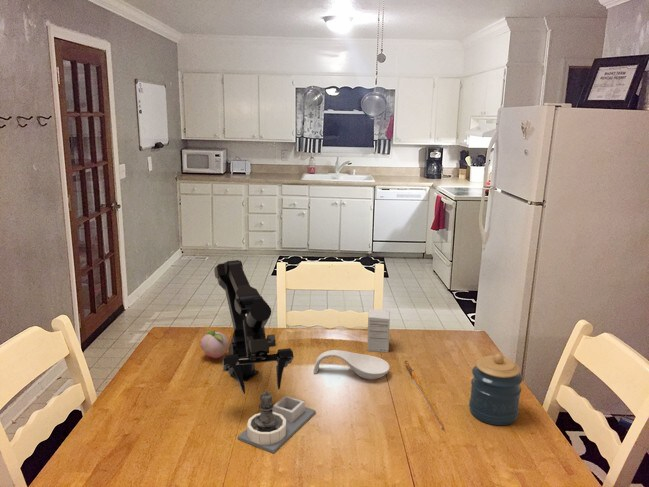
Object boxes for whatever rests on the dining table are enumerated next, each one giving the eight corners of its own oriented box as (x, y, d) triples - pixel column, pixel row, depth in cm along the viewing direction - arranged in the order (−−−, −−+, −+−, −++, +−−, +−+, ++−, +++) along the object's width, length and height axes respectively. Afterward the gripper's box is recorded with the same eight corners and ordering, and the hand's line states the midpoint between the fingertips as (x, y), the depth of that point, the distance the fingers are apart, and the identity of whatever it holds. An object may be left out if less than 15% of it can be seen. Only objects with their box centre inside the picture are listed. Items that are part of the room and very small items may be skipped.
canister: (517, 405, 149) (524, 347, 144) (518, 430, 137) (525, 369, 132) (470, 396, 153) (475, 340, 148) (466, 421, 141) (472, 361, 136)
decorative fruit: (235, 356, 175) (234, 329, 173) (217, 366, 169) (216, 337, 166) (214, 349, 180) (213, 322, 178) (196, 359, 174) (195, 331, 171)
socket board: (282, 401, 149) (282, 389, 148) (315, 413, 144) (315, 400, 143) (237, 439, 132) (237, 425, 131) (273, 453, 127) (273, 439, 126)
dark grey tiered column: (279, 438, 131) (278, 395, 128) (255, 440, 131) (254, 397, 128) (277, 424, 137) (277, 383, 134) (255, 426, 136) (253, 384, 133)
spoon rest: (388, 367, 170) (389, 346, 168) (389, 385, 159) (390, 364, 157) (316, 363, 172) (316, 343, 170) (311, 381, 161) (311, 360, 159)
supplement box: (367, 341, 188) (369, 308, 184) (388, 343, 187) (390, 310, 183) (366, 351, 180) (367, 316, 177) (388, 352, 179) (389, 318, 176)
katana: (440, 434, 137) (440, 425, 136) (403, 365, 170) (404, 358, 169) (445, 433, 137) (445, 425, 136) (407, 365, 170) (408, 357, 170)
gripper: (221, 327, 137) (227, 387, 129) (292, 321, 142) (301, 378, 134) (220, 342, 146) (225, 398, 139) (286, 335, 151) (294, 389, 144)
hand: (261, 391), depth 139 cm, fingers open, 9 cm apart
